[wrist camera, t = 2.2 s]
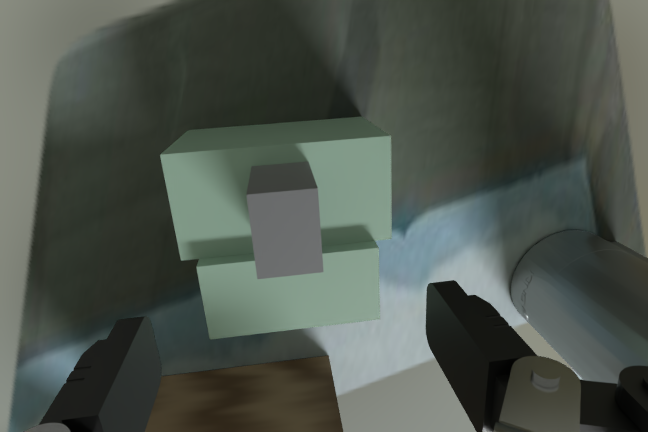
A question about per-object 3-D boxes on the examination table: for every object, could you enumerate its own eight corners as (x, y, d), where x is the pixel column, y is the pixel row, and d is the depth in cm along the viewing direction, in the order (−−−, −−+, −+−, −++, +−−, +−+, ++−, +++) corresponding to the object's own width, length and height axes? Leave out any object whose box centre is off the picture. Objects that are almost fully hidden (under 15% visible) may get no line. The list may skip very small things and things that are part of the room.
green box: (361, 116, 30) (421, 156, 18) (365, 253, 34) (417, 361, 22) (188, 129, 29) (129, 181, 17) (212, 269, 33) (178, 392, 21)
